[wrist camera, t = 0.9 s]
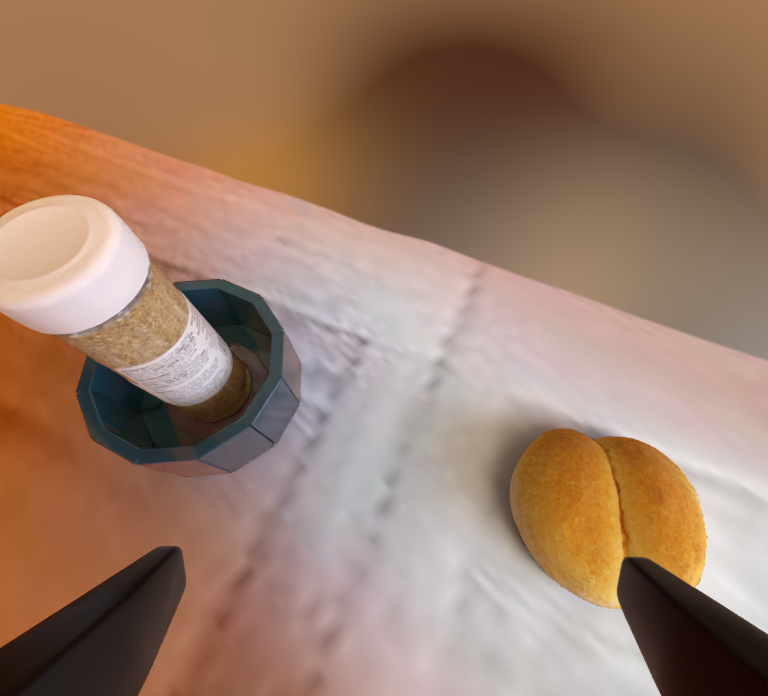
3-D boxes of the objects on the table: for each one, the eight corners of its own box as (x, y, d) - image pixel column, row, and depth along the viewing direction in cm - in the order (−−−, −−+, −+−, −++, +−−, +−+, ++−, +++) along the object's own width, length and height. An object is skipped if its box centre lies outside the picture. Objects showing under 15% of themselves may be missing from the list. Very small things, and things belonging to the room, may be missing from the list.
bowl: (238, 508, 20) (201, 503, 16) (96, 428, 22) (32, 406, 18) (330, 353, 24) (318, 319, 20) (203, 298, 26) (170, 256, 22)
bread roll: (505, 426, 22) (528, 406, 19) (660, 451, 21) (715, 435, 18) (502, 585, 19) (530, 599, 15) (688, 622, 18) (764, 645, 14)
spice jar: (176, 371, 24) (-38, 211, 12) (246, 347, 25) (110, 173, 13) (188, 436, 22) (-54, 325, 10) (262, 408, 23) (121, 273, 11)
